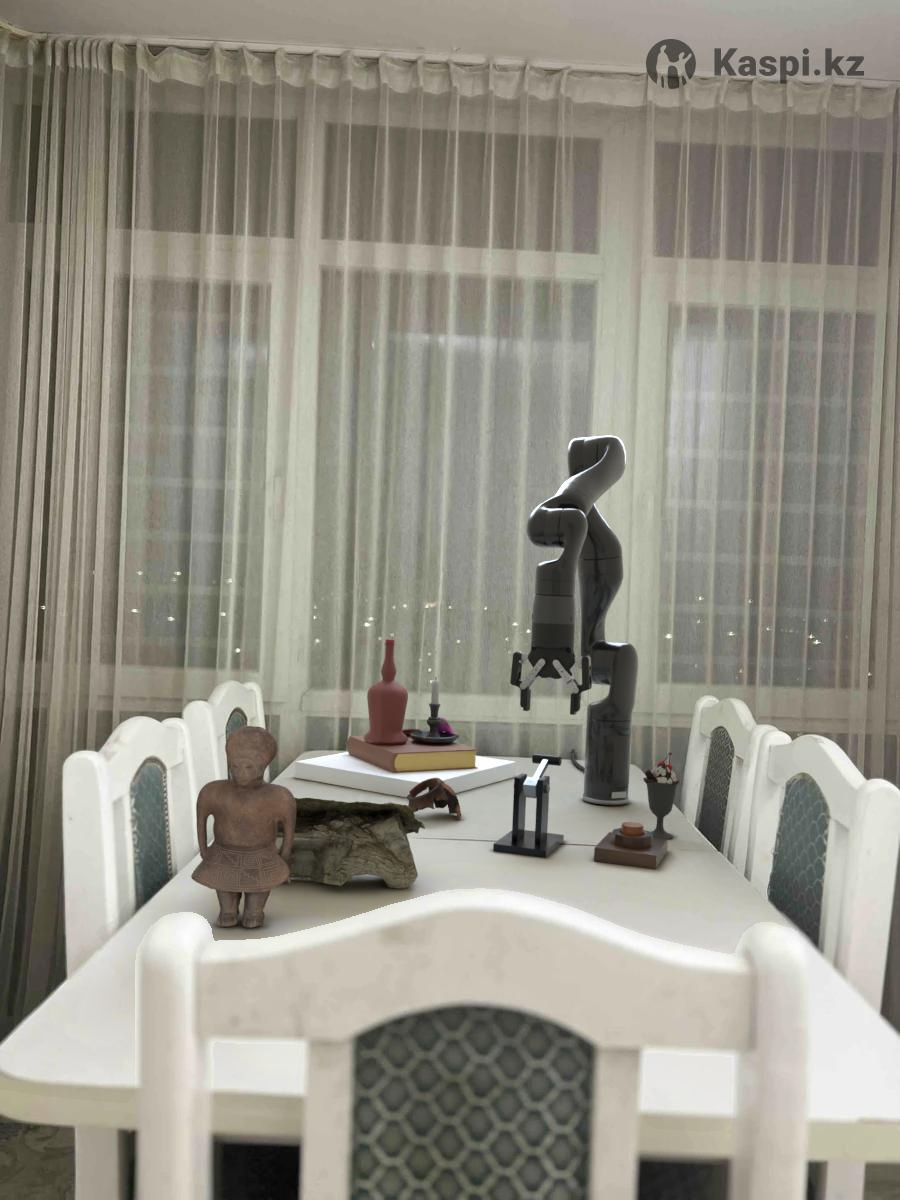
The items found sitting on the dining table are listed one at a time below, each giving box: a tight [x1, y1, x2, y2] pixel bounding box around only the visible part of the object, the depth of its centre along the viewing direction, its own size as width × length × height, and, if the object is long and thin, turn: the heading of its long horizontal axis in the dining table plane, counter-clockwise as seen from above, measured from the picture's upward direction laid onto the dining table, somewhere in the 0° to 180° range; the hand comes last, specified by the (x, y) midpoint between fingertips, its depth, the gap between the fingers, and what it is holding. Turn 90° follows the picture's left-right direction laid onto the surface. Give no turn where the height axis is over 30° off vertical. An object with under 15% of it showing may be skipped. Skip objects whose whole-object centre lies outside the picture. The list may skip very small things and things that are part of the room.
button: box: [621, 821, 645, 836], centre depth 174 cm, size 4×4×2 cm
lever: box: [523, 753, 563, 799], centre depth 182 cm, size 12×5×2 cm, turn 160°
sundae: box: [642, 752, 682, 840], centre depth 189 cm, size 7×7×15 cm
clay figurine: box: [190, 725, 296, 928], centre depth 133 cm, size 13×10×25 cm
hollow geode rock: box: [276, 797, 426, 889], centre depth 151 cm, size 28×13×15 cm
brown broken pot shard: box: [406, 778, 462, 821], centre depth 198 cm, size 12×10×8 cm
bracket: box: [492, 773, 565, 859], centre depth 178 cm, size 12×9×12 cm
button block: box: [593, 827, 669, 870], centre depth 174 cm, size 12×10×4 cm
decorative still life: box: [294, 638, 517, 798], centre depth 237 cm, size 35×40×31 cm
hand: (549, 712), depth 186 cm, fingers open, 8 cm apart
